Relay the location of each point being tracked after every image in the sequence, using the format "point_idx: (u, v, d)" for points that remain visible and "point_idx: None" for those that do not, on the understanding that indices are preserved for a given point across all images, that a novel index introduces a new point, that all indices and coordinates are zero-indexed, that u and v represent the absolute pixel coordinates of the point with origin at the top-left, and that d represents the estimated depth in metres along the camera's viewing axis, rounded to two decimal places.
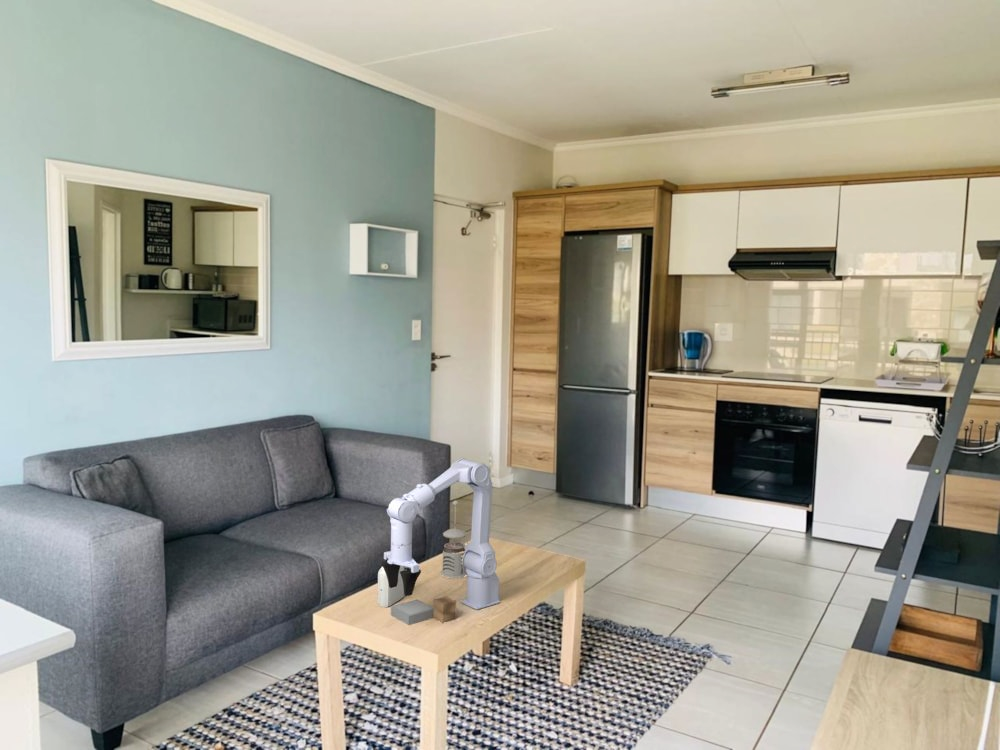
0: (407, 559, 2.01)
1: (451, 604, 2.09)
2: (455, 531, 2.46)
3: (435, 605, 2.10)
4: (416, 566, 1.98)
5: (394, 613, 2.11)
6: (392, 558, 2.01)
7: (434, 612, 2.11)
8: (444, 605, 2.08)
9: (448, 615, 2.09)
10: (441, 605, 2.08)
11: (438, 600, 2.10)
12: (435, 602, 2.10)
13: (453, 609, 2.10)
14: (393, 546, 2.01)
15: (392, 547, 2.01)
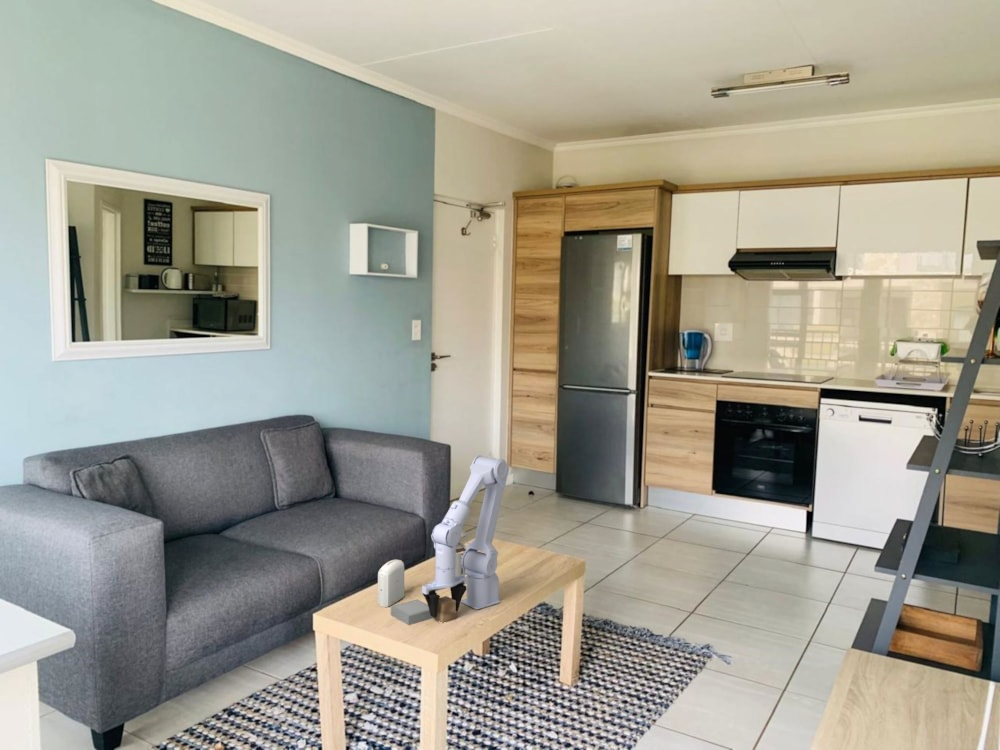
0: (437, 582, 2.08)
1: (451, 604, 2.09)
2: None
3: None
4: (424, 588, 2.05)
5: (394, 613, 2.11)
6: None
7: None
8: (444, 605, 2.08)
9: (448, 615, 2.09)
10: (441, 605, 2.08)
11: None
12: None
13: (453, 609, 2.10)
14: None
15: None
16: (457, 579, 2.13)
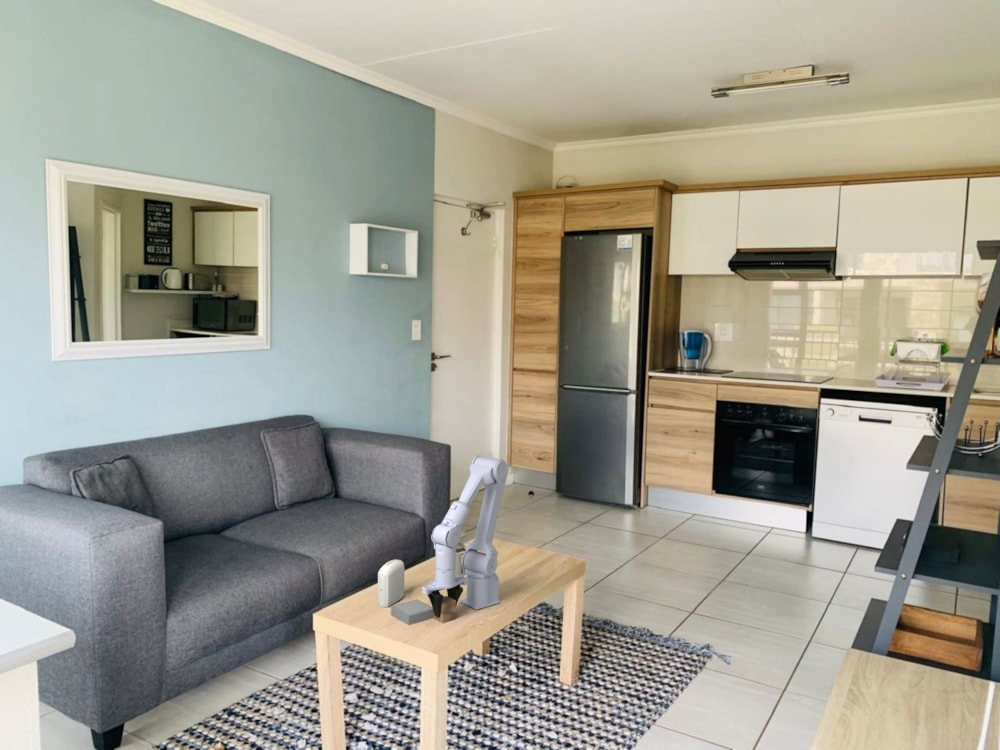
0: (437, 583, 2.08)
1: (451, 604, 2.09)
2: None
3: None
4: (424, 589, 2.05)
5: (394, 613, 2.11)
6: None
7: None
8: (444, 605, 2.08)
9: (448, 615, 2.09)
10: (441, 605, 2.08)
11: None
12: None
13: (453, 609, 2.10)
14: None
15: None
16: (457, 580, 2.13)
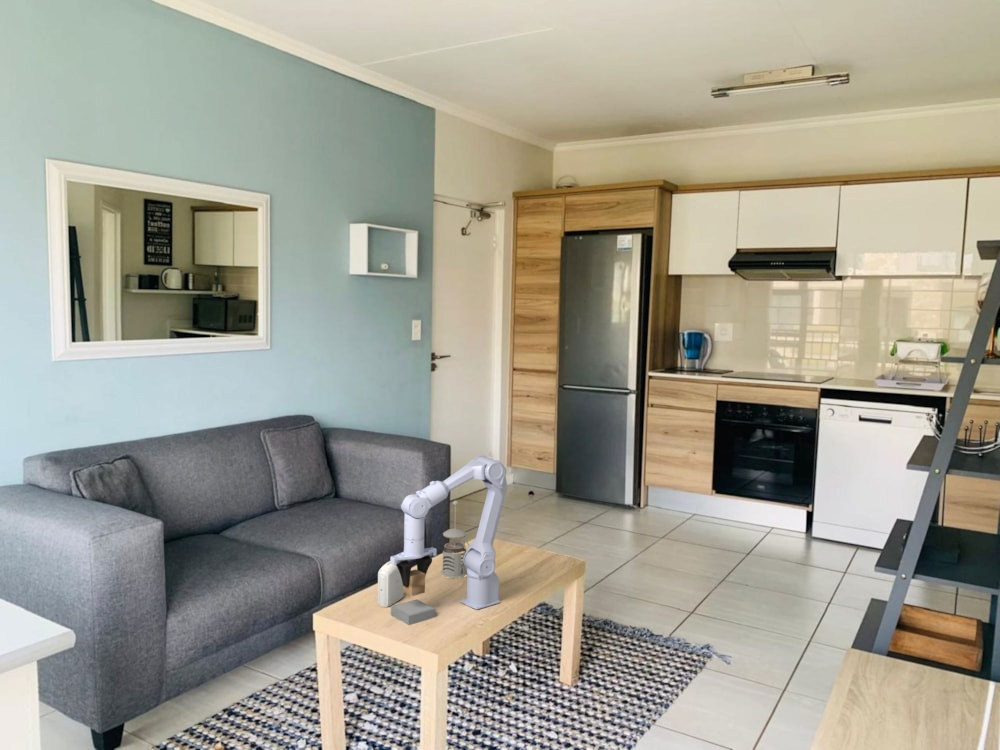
0: (405, 553, 2.09)
1: (420, 577, 2.10)
2: (455, 531, 2.46)
3: None
4: (392, 558, 2.06)
5: (394, 613, 2.11)
6: None
7: None
8: (413, 578, 2.08)
9: (418, 588, 2.10)
10: (410, 578, 2.09)
11: None
12: None
13: (422, 582, 2.11)
14: None
15: None
16: (426, 550, 2.14)
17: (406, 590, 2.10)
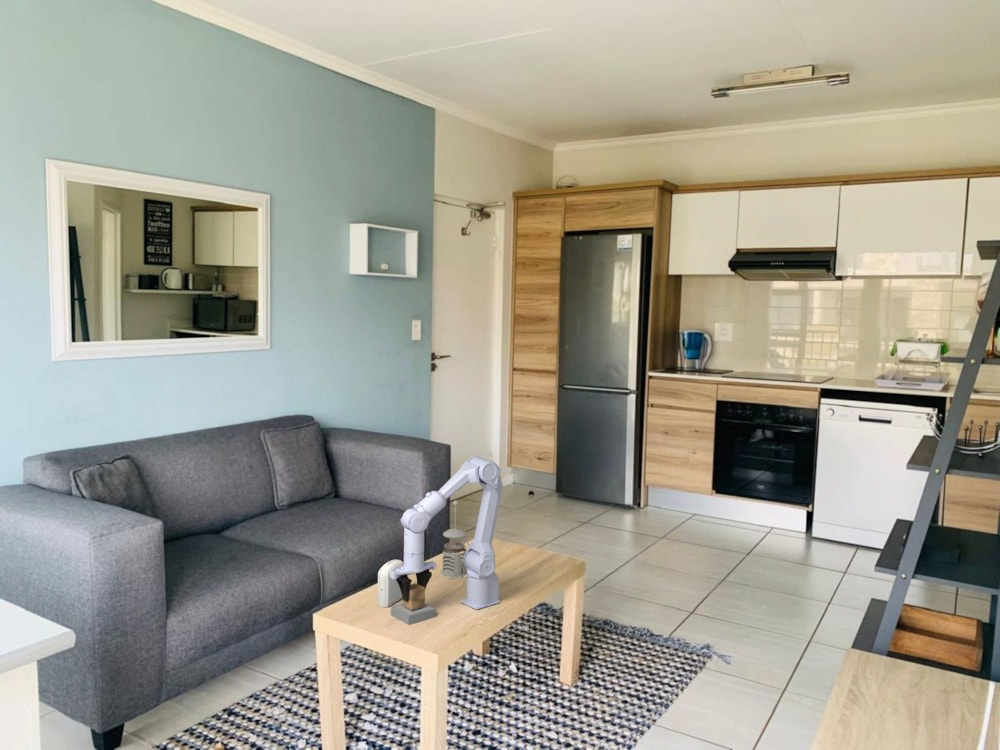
0: (405, 567, 2.09)
1: (420, 591, 2.10)
2: (455, 531, 2.46)
3: None
4: (392, 573, 2.07)
5: (394, 613, 2.11)
6: None
7: None
8: (413, 592, 2.09)
9: (417, 602, 2.10)
10: (410, 592, 2.09)
11: None
12: None
13: (422, 596, 2.11)
14: None
15: None
16: (426, 564, 2.14)
17: (406, 604, 2.11)
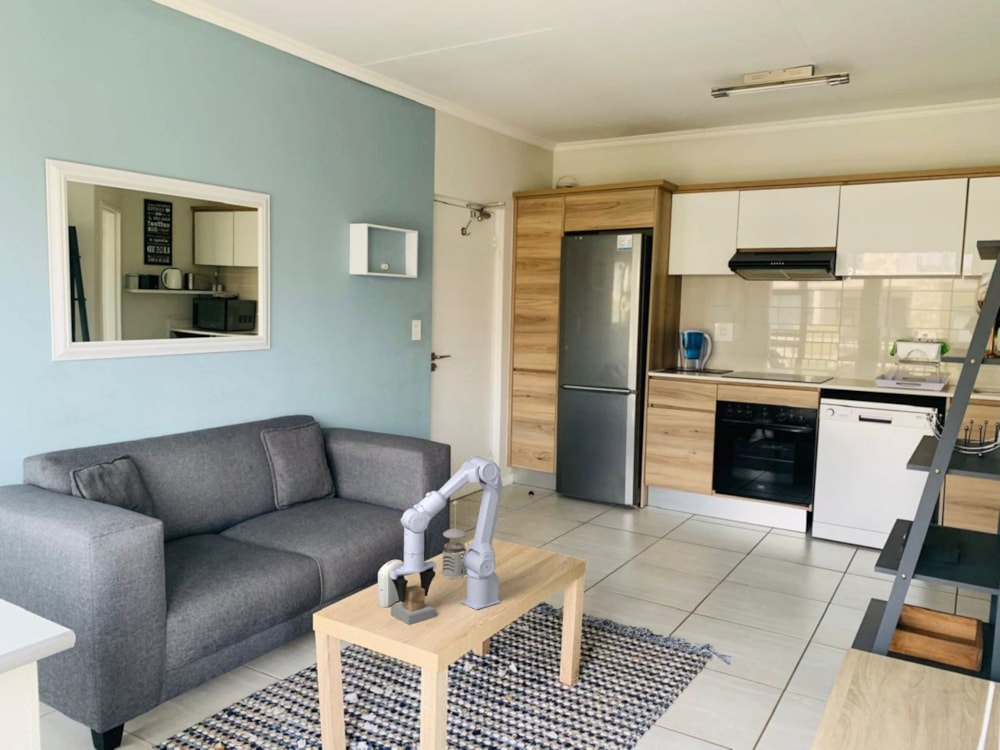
0: (405, 567, 2.09)
1: (420, 593, 2.10)
2: (455, 531, 2.46)
3: None
4: (392, 573, 2.07)
5: (394, 613, 2.11)
6: None
7: None
8: (413, 593, 2.09)
9: (417, 604, 2.10)
10: (410, 593, 2.09)
11: (407, 589, 2.11)
12: None
13: (422, 598, 2.11)
14: None
15: None
16: (426, 564, 2.14)
17: (406, 606, 2.11)
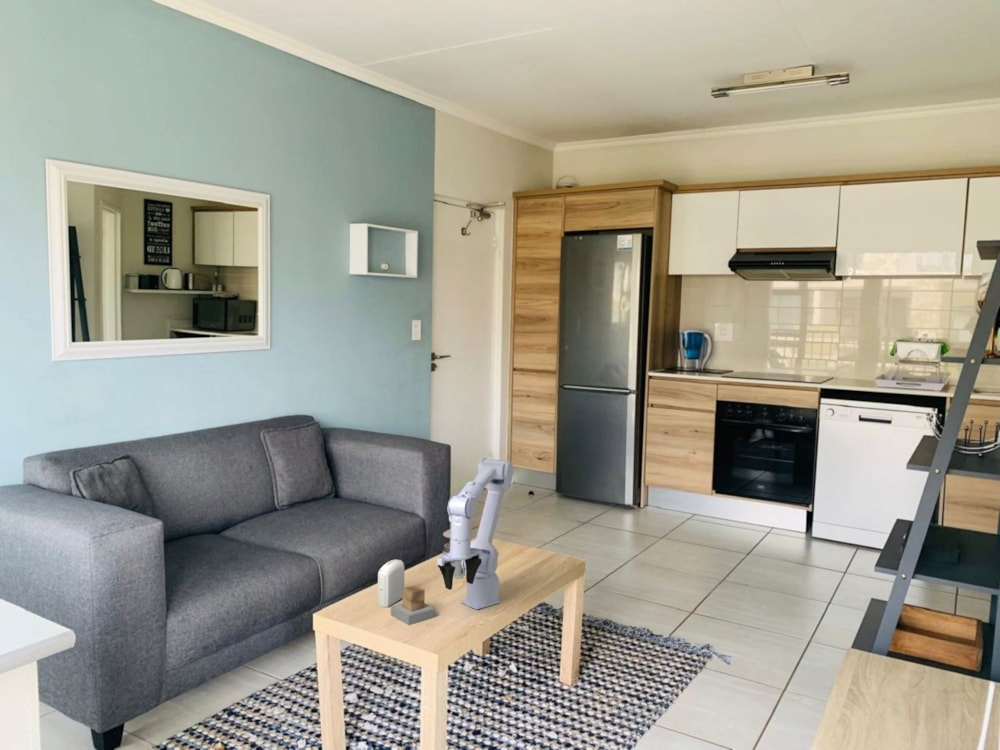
0: (452, 554, 2.07)
1: (420, 593, 2.10)
2: None
3: (404, 594, 2.11)
4: (439, 559, 2.04)
5: (394, 613, 2.11)
6: None
7: (403, 601, 2.12)
8: (413, 593, 2.09)
9: (417, 604, 2.10)
10: (410, 593, 2.09)
11: (407, 589, 2.11)
12: (404, 591, 2.11)
13: (422, 598, 2.11)
14: None
15: None
16: (472, 552, 2.12)
17: (406, 606, 2.11)
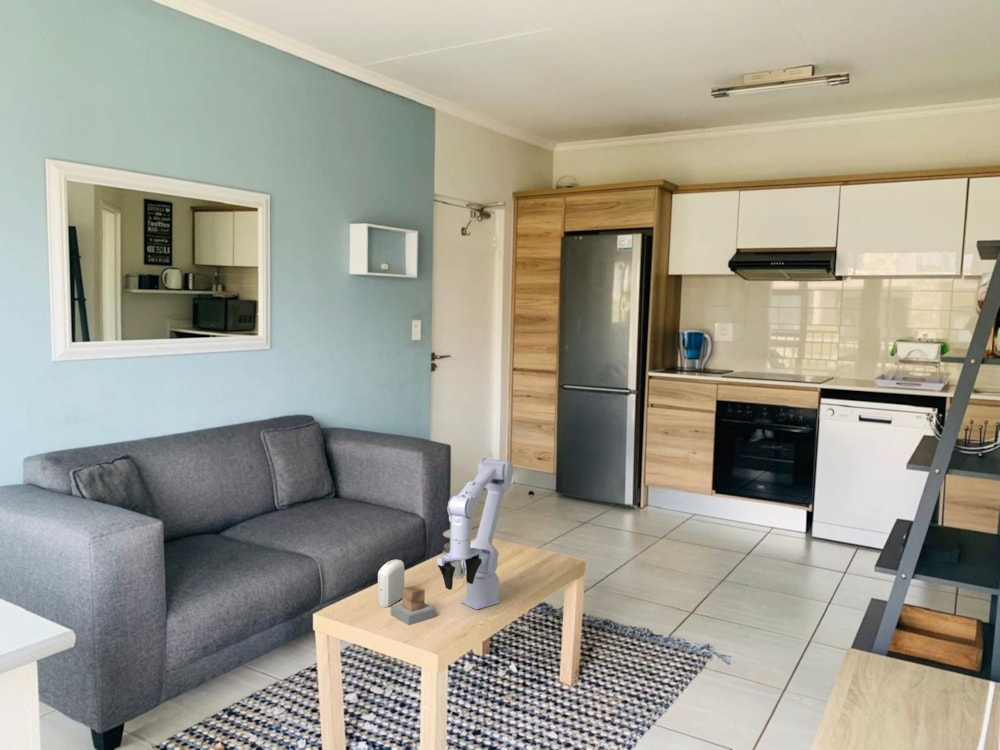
0: (452, 554, 2.07)
1: (420, 593, 2.10)
2: None
3: (404, 594, 2.11)
4: (439, 559, 2.04)
5: (394, 613, 2.11)
6: None
7: (403, 601, 2.12)
8: (413, 593, 2.09)
9: (417, 604, 2.10)
10: (410, 593, 2.09)
11: (407, 589, 2.11)
12: (404, 591, 2.11)
13: (422, 598, 2.11)
14: None
15: None
16: (472, 552, 2.12)
17: (406, 606, 2.11)
